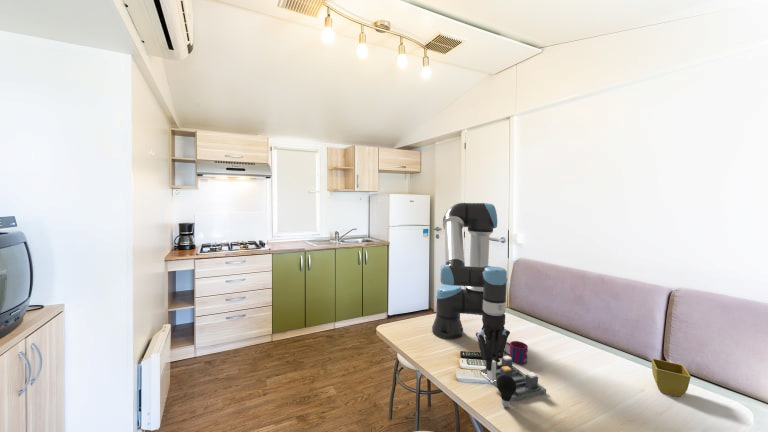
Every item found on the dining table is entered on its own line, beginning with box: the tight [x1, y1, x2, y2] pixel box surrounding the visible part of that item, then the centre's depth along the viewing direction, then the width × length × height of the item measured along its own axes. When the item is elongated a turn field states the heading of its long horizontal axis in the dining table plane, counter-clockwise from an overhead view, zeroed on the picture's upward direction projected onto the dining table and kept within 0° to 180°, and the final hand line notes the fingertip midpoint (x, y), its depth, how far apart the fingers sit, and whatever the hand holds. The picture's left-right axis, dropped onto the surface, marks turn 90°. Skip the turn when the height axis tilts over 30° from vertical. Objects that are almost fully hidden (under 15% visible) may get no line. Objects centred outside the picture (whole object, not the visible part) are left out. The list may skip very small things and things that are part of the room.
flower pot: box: [651, 358, 691, 398], centre depth 107 cm, size 9×9×9 cm
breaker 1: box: [500, 355, 513, 369], centre depth 117 cm, size 2×3×4 cm
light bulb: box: [496, 375, 516, 408], centre depth 97 cm, size 6×6×10 cm
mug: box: [504, 340, 529, 366], centre depth 128 cm, size 7×10×7 cm
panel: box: [480, 363, 547, 402], centre depth 111 cm, size 17×14×2 cm
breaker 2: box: [525, 371, 539, 389], centre depth 106 cm, size 2×3×4 cm
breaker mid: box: [500, 366, 512, 377], centre depth 110 cm, size 2×3×4 cm
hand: (491, 378), depth 108 cm, fingers closed
